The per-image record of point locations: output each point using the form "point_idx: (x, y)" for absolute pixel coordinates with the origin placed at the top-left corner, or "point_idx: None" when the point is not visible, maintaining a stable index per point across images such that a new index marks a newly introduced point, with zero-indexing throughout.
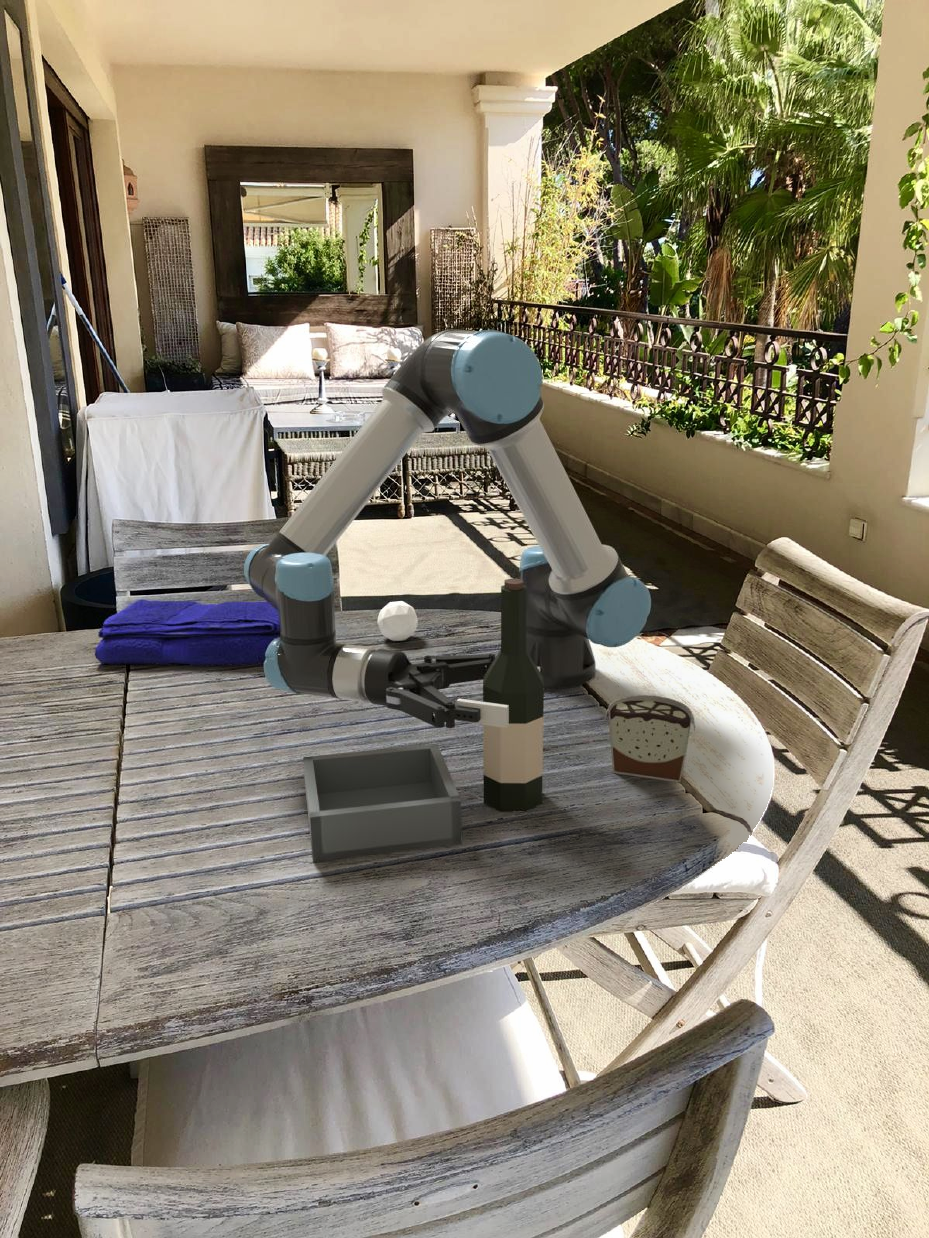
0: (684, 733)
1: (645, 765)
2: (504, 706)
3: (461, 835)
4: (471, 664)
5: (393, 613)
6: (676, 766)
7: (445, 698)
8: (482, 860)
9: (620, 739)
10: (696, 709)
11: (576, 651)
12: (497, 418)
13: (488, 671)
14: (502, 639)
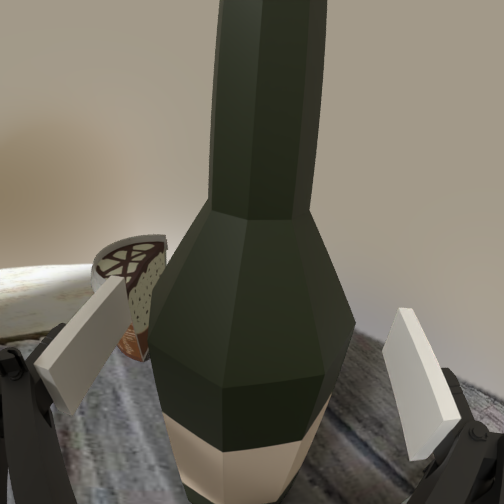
0: (163, 259)
1: None
2: (409, 313)
3: (409, 496)
4: (36, 441)
5: None
6: None
7: (459, 463)
8: (421, 464)
9: (138, 318)
10: (20, 286)
11: None
12: None
13: (267, 337)
14: (303, 157)
